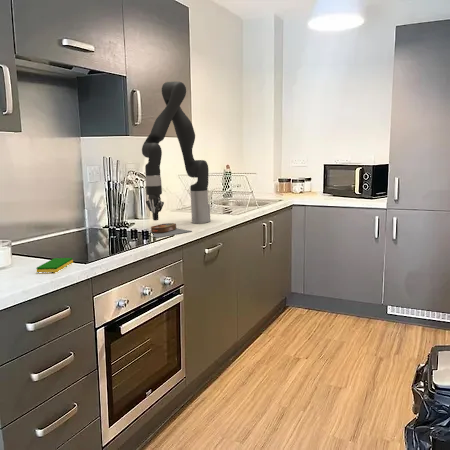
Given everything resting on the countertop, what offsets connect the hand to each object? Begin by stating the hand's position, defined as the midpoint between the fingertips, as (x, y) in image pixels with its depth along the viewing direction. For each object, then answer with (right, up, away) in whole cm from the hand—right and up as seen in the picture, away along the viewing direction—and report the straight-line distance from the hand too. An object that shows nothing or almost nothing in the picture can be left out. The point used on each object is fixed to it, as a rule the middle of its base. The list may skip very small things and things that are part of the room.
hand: (155, 220), depth 229 cm
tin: (0, -4, +1) cm, 4 cm away
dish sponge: (-25, -18, -65) cm, 72 cm away
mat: (+6, -6, -5) cm, 10 cm away
